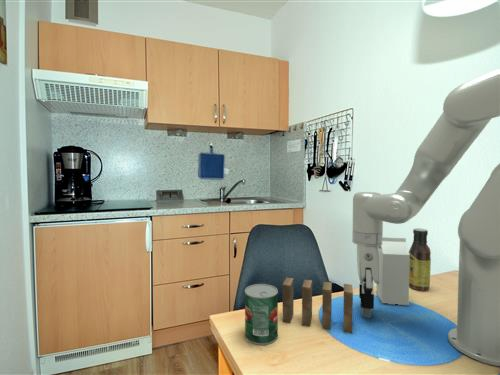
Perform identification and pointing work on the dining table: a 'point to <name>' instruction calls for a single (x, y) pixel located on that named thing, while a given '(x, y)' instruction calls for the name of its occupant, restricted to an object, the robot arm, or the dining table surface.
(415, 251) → the sauce bottle
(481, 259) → the robot arm
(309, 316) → the walnut domino
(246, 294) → the canned tomato
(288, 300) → the walnut domino
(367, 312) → the charcoal domino
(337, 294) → the dining table surface
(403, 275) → the milk carton
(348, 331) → the walnut domino
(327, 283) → the walnut domino
